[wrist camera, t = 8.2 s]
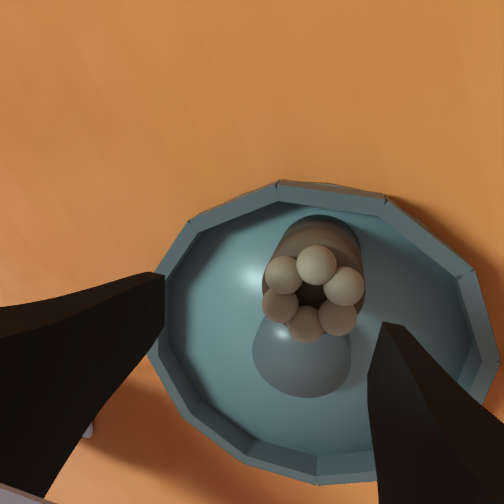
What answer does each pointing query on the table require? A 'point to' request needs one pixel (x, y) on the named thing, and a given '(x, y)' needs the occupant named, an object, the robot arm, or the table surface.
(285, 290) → the brown ball-rimmed cylinder
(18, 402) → the robot arm
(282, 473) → the round groove tray
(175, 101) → the table surface
